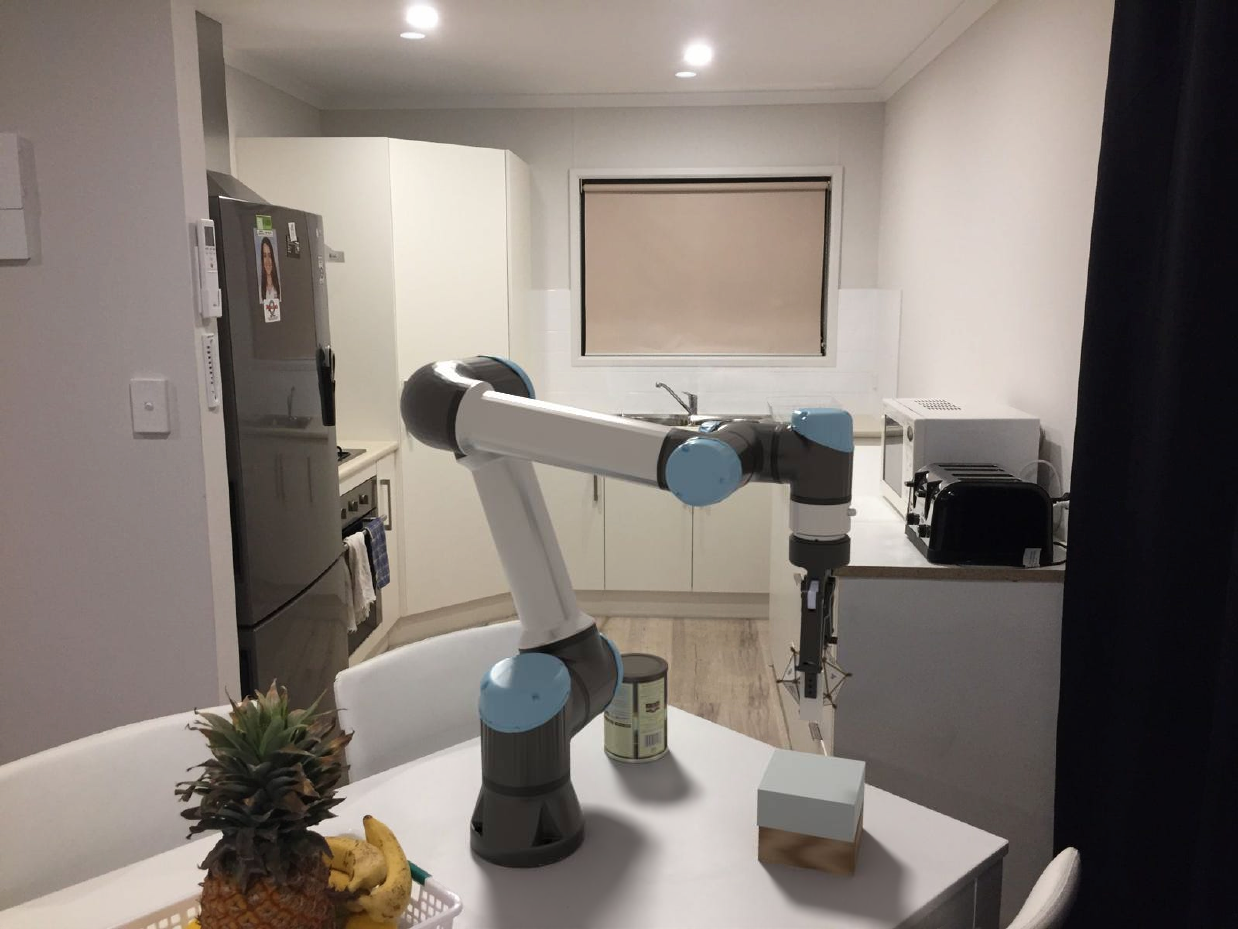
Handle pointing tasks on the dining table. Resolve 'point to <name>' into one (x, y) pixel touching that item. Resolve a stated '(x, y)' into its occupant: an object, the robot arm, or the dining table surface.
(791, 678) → the game die
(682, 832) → the dining table surface
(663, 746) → the coffee can
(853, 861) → the tower base
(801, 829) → the tower top
